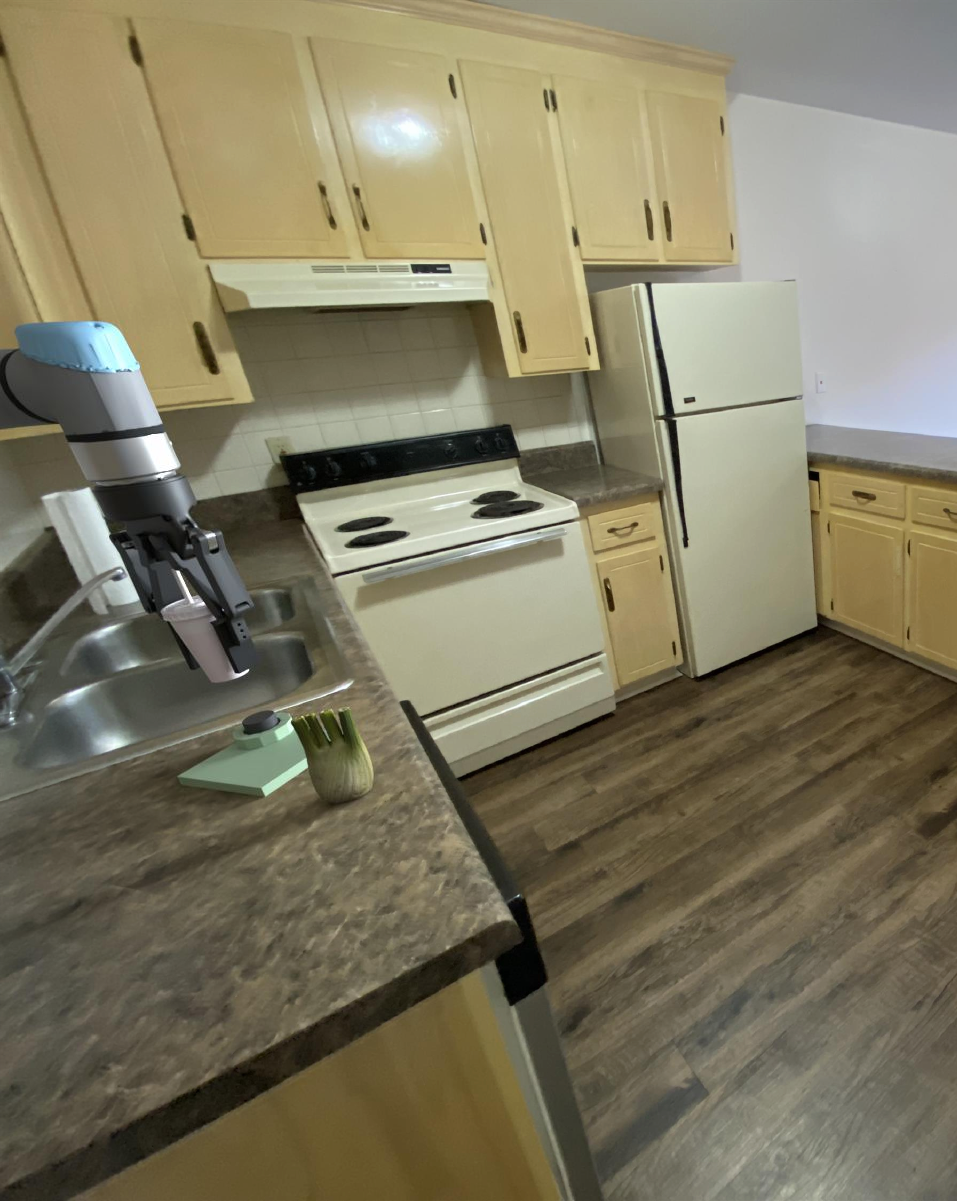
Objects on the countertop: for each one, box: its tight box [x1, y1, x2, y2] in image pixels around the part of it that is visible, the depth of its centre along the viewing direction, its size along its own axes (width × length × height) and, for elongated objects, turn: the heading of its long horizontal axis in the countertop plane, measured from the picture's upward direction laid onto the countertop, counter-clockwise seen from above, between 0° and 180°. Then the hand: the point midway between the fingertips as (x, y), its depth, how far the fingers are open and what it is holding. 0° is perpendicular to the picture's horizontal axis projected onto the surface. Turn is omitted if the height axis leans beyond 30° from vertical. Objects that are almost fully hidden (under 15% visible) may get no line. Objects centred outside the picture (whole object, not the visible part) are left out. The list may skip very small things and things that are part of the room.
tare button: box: [241, 709, 279, 735], centre depth 90 cm, size 4×4×2 cm
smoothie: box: [161, 569, 250, 684], centre depth 77 cm, size 6×6×14 cm
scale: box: [176, 712, 343, 798], centre depth 87 cm, size 14×13×3 cm
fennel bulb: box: [291, 706, 375, 805], centre depth 77 cm, size 6×5×12 cm
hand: (226, 665), depth 79 cm, fingers closed on smoothie, 6 cm apart
